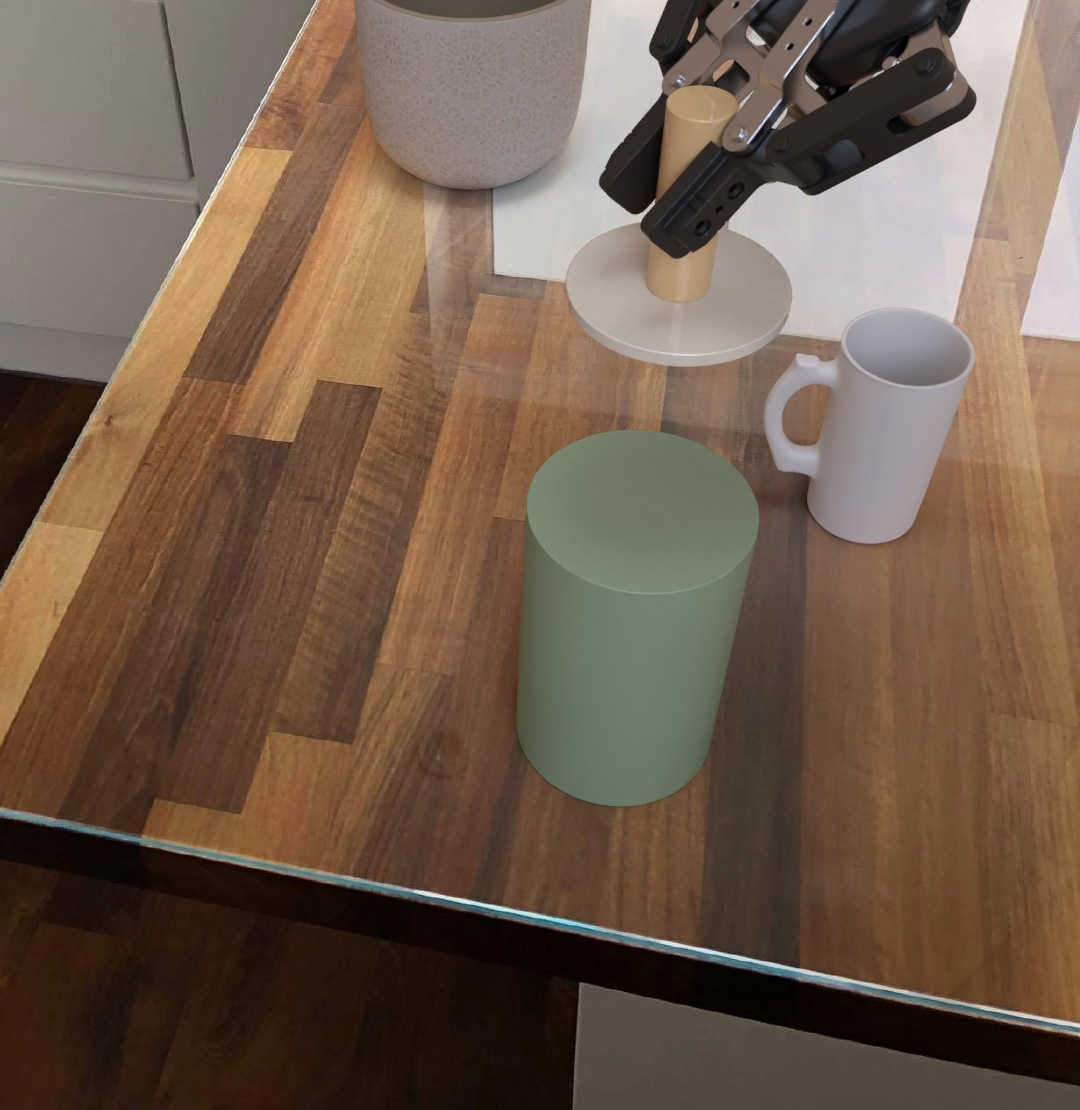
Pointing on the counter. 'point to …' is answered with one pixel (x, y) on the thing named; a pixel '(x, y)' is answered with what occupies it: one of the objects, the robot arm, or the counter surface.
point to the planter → (472, 84)
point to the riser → (629, 611)
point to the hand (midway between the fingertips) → (638, 221)
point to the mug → (875, 420)
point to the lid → (680, 268)
